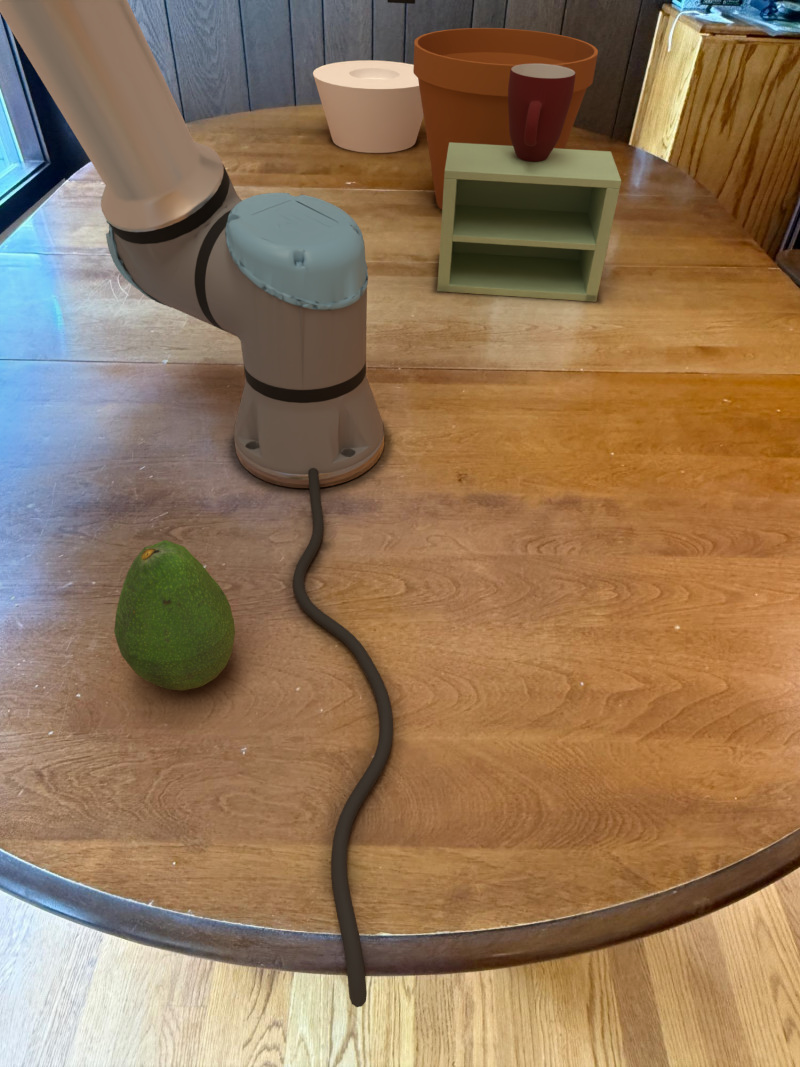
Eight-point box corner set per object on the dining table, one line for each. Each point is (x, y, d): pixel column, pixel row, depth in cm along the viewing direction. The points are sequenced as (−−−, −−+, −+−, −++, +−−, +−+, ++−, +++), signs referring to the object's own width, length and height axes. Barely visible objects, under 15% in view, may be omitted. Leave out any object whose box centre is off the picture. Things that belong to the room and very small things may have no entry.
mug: (564, 175, 97) (579, 85, 90) (499, 171, 97) (509, 81, 91) (561, 150, 105) (574, 65, 98) (501, 146, 105) (510, 61, 98)
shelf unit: (596, 301, 107) (621, 180, 96) (437, 291, 108) (444, 170, 97) (588, 266, 116) (611, 151, 105) (441, 256, 117) (449, 142, 106)
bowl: (383, 117, 172) (383, 55, 164) (456, 144, 159) (460, 78, 151) (292, 135, 161) (288, 69, 152) (363, 166, 147) (363, 95, 139)
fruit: (157, 734, 54) (120, 621, 46) (115, 660, 59) (75, 546, 51) (259, 681, 58) (241, 567, 50) (212, 616, 62) (189, 502, 54)
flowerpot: (381, 188, 138) (382, 33, 122) (512, 169, 148) (529, 24, 132) (461, 245, 120) (475, 72, 104) (604, 219, 130) (637, 57, 114)
